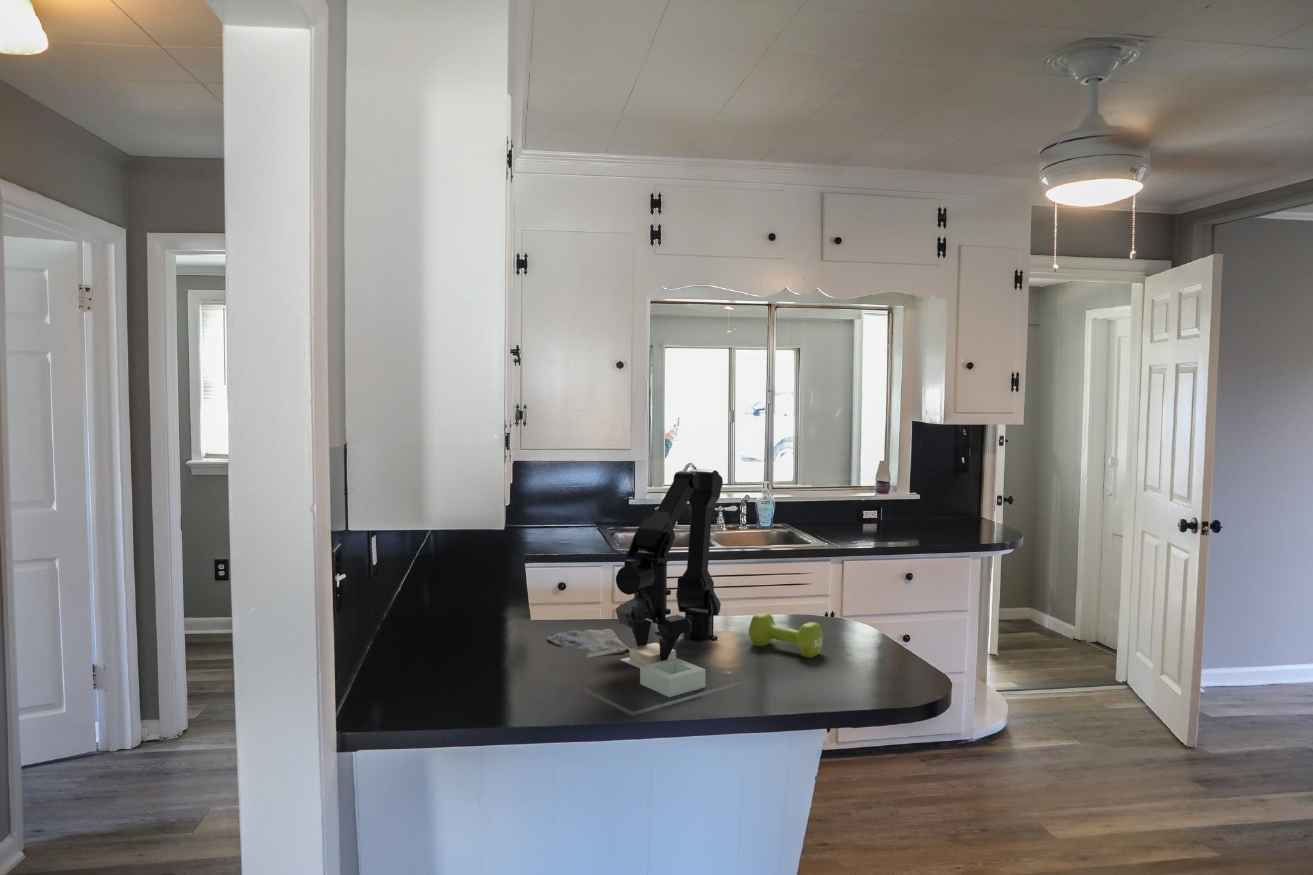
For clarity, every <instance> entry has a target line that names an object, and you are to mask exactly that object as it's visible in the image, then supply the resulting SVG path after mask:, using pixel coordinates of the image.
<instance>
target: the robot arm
mask: <svg viewBox="0 0 1313 875" xmlns="http://www.w3.org/2000/svg"><path fill="white" fill-rule="evenodd" d="M672 479H673V481H672V483H671V485H670V487H669V488H668V489H667V492H666V493H665V495H664V496H663V499H662V500H661V502H660V503H659V505H658V507H657V508H656V511H654V514H652V515H650V516H649V517H647V518H645V519H644V520H643V521H642V523H641V524H639V526H638V528H637V529H636V531H635V533H634V535H633V538H632V540H631V543H630V547H629V549H628V551H627V555H626V559H625V560H624V566H622V567H621V568H619V569H618V571H617V572H616V573H617V574H616V575H615V584H616V586H617V588H618V590H619V591H620V592H621V593H623V594H625V595H628V596H630V595H634V597H633V598H631V599H629V600H627V601H625V602H624V603H620V604H619V606H617V607H616V608H615V613H616V618H617V620H618V623H619V624H620V625H626V627H628V628H630V629H631V631H632V634H633V637H634V639H635V640H634V641H635V642H636V643H635V644H636V647H638V646H643V645H647V644H648V640H649V635H650V630H651V626H652V623H653V624H656V625H657V630H658V631H655V632H653V634H654V635H655V636H656V638H658V640H659V641H658V642H659V643H658V644H660V658H661V661H665V660H667V659H668V657H669V655H670V653H671V651H672V649H673V648H674V646H675V644H676V643H677V641H678V639H679V638H680V636H681V637H683V638H684V639H687V640H689V641H690V640H691V641H694V642H703V641H707V640H709V641H714V640H718V639H719V636H717V635H714V619H715V618H714V616H719V615H720V614H719V613H720V612H721V611H720V610H721V605H722V603H721V601H720V600H719V598H718V596H717V595H716V593H715V585H714V584H715V582H714V580H713V578H712V576H711V574H710V572H709V558H710V557H709V556H710V545H711V544H710V542H711V529H712V515H713V514H712V513H713V508H714V507H715V505H716V503H717V502H718V501H719V499H720V497H721V490H722V488H723V484H724V483H723V477H722V476H721V475H720V473H719V471H718V470H714V469H697V468H693V469H690V470H689V471H688V470H684V471H683V470H678V471H676V472H675V473H674V475H673V478H672ZM688 503H689V505H690V519H689V520H690V521H689V533H688V534H689V535H688V536H689V537H688V549H687V562H686V563H687V564H686V570H685V571H684V573H683V574H682V575H681V576H679V577H678V578H677V590H676V592H675V595H676V598H675V599H676V601H677V607H678V612H679V613H684V616H682V615H679V614H675V615H671V612H672V611H671V610H672V609H671V608H669V607H667V606H668V604H667V597H668V596H671V594H672V590H671V589H669V588H668V585H667V583H668V582H667V581H668V580H667V579H668V574H667V573H668V572H667V571H668V563H669V562H670V561H671V560H672V558H671V557H670V555H669V554H668V553H669V552H670V550H671V549H672V546H673V544H674V541H675V538H676V534H675V533H676V532H675V527H676V524H677V521H678V520H679V518H680V517H681V514H682V512H683V511H684V509H685V507H686V505H687V504H688ZM667 615H668V616H667ZM669 615H670V616H669Z"/></svg>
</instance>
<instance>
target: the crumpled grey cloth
mask: <svg viewBox="0 0 1313 875" xmlns="http://www.w3.org/2000/svg"><path fill="white" fill-rule="evenodd" d="M547 639H548V641H549V642H550V643H552V644H553V645H556V646H560V647H562V648H565V647H569V646H575V645H579V647H578V649H580V650H584V649H585V648H586V649H588V650H589V651H590V652H588V653H586V656H585V657H586V658H594V657H603V656H611V655H619V654H620V655H621V654H624V653H625V652H630V648H629V646H627V645H626V644H624V643H623V642H622V640H620V639H619V637H618V635H617V634H616V633H615V632H614V631H613V630H612V629H610V628H604V629H582V630H581V629H574V630H568V631H566V632H557V633H555V634H553V635H549V636H547Z"/></svg>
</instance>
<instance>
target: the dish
mask: <svg viewBox="0 0 1313 875" xmlns="http://www.w3.org/2000/svg"><path fill="white" fill-rule="evenodd" d="M639 669H640V670H639V684H640V685H641V686H644V687H646V688H649V689H650V690H653V691H655V692H657V693H658V694H659V693H660V694H661V695H663V696H666V697H667V698H671V697H674V696H678V695H682V694H685V693H689V692H693V691H696V690H701V689H703V688H706V671H707V670H706V669H705V668H704V667H700V666H698V665H696V664H693V663H691V662H687V661H685V660H683V659H680V658H677V657H676V658H673V659H669V660H665V661H661V662H657V663H652V664H648V665H644V666H640V668H639Z"/></svg>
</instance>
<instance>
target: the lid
mask: <svg viewBox="0 0 1313 875" xmlns="http://www.w3.org/2000/svg"><path fill="white" fill-rule="evenodd" d="M629 649H630V650H629V657H630V660H631V661H633V662H635V663H638V664H640V665H642V666H644V665H648V664H652V663H657V662H661V658H660V644H659V643H658V642H652V643H647V645H643V646H635V647H631V648H629ZM673 658H677V650H676V649H672V651H671V653H670V655H669V657H668V659H667V660H669V659H673Z"/></svg>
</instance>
